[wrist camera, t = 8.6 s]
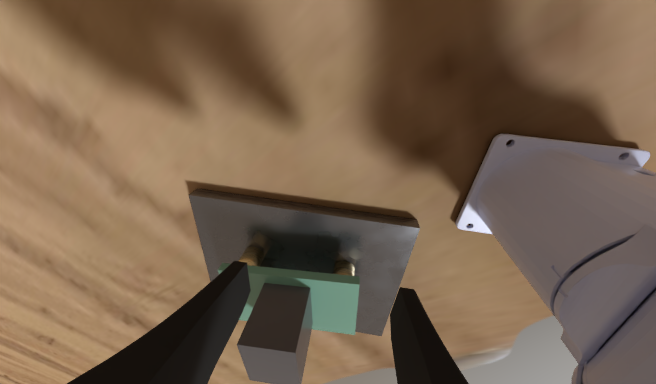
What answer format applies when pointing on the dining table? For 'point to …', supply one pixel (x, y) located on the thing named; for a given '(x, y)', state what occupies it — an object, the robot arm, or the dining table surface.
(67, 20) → the dining table surface
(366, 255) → the plate
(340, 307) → the board
